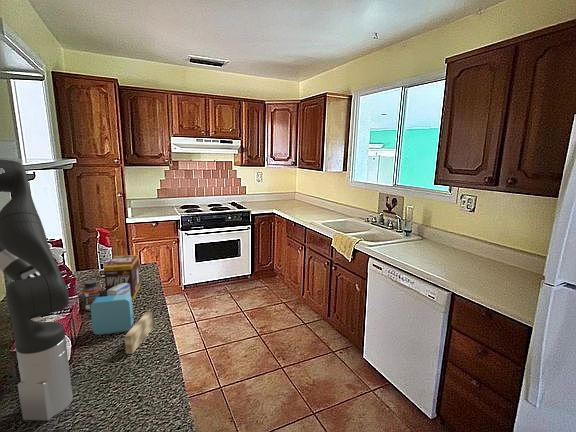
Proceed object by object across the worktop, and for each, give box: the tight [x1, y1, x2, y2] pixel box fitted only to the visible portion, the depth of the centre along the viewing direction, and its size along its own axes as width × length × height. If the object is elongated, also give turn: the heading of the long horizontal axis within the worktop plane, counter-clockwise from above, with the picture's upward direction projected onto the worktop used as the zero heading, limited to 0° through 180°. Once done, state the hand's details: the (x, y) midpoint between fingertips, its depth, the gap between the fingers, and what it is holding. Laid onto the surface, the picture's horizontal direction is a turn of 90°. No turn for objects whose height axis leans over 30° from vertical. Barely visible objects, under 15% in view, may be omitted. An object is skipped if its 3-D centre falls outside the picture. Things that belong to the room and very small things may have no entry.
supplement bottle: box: [81, 279, 101, 312], centre depth 126 cm, size 6×6×11 cm
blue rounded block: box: [90, 294, 134, 336], centre depth 111 cm, size 12×4×12 cm, turn 106°
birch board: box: [124, 310, 155, 355], centre depth 106 cm, size 16×2×6 cm, turn 0°
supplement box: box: [103, 254, 141, 301], centre depth 139 cm, size 10×15×16 cm
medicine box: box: [107, 283, 131, 296], centre depth 128 cm, size 8×4×9 cm, turn 169°
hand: (54, 297), depth 109 cm, fingers closed
